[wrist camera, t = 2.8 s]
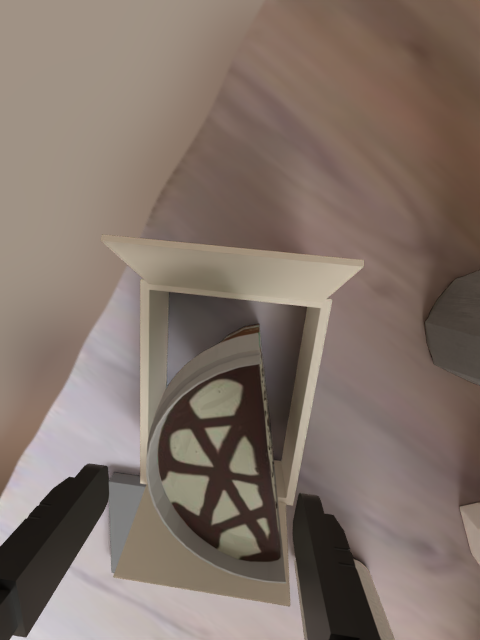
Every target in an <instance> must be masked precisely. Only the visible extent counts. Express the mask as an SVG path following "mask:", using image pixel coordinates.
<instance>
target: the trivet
mask: <svg viewBox="0 0 480 640" xmlns="http://www.w3.org/2000/svg"><path fill="white" fill-rule="evenodd" d="M146 485H147V484H141V483H140V476H136V475H129V474H122V473H115V472H114V474H113V475H112V477H111V478H110V480H109V518H110V544H111V570H112V573H115V570H116V568H117V565H118V562H119V559H120V556H121V554H122V551H123V548H124V545H125V543H126V540H127V537H128V534H129V532H130V529H131V526H132V523H133V521H134V518H135V515H136V512H137V509H138V507H139V504H140V501H141V498H142V496H143V493H144V490H145V487H146Z"/></svg>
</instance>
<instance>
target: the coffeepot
mask: <svg viewBox="0 0 480 640" xmlns="http://www.w3.org/2000/svg"><path fill="white" fill-rule="evenodd" d="M425 328H426V341H427V345H428V348H429V351H430V353H431V354H432V358H433V363H434V365H436V366H438V367H441V368H443V369H445V370H447V371H449V372H451V373H453V374H455V375H457V376H459V377H461V378H463V379H465V380H467V381H470V382H472V383H474V384H477V385H480V270H478V271H475V272H473V273H471V274H468V275H466V276H463V277H460V278H457V279H455V280H454V281H453V282H452V283H451V284H450V285H449V287H448V288H447V289H446V290H445V291H444V292H443V294H442V295H441V296H440V297H439V298H438V300H437V301H436V303H435V304H434V306H433V308H432V310H431V312H430V315H429V318H428V319H427V320H426V322H425Z"/></svg>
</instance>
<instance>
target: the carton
mask: <svg viewBox="0 0 480 640" xmlns="http://www.w3.org/2000/svg"><path fill="white" fill-rule="evenodd" d="M101 241H102V242H103V243H104V244H105V245H106V246H107V247H108V248H109V249H110V250H112V251H113V252H114V253H115V254H116V255H117V256H118V257H120V258H121V259H122V260H123V261H124V262H125V263H126V264H127V265H128V266H129V267H131V268H132V269H133V270H134V271H135V272H136V273H137V274H138V275H140V276H141V277H142V278H143V279H140V483H141V484H147V485H146V487H145V490H144V493H143V496H142V498H141V501H140V504H139V507H138V509H137V512H136V515H135V518H134V521H133V523H132V526H131V529H130V532H129V534H128V537H127V540H126V543H125V545H124V548H123V551H122V554H121V556H120V559H119V562H118V565H117V568H116V570H115V573H114V576H113V577H114V578H120V579H126V580H132V581H138V582H144V583H150V584H156V585H163V586H169V587H175V588H181V589H187V590H193V591H199V592H205V593H211V594H217V595H223V596H229V597H235V598H241V599H247V600H253V601H260V602H266V603H272V604H278V605H284V606H290V587H289V565H288V543H287V521H286V505H292V506H293V502H294V497H295V492H296V487H297V482H298V476H299V471H300V466H301V461H302V456H303V450H304V445H305V440H306V435H307V429H308V424H309V419H310V414H311V409H312V403H313V398H314V393H315V388H316V383H317V377H318V372H319V367H320V362H321V357H322V351H323V346H324V341H325V336H326V330H327V325H328V320H329V315H330V310H331V304H332V299H330V298H328V297H329V296H330V295H332V294H333V293H334V292H335V291H336V290H337V289H339V288H340V287H341V286H342V285H343V284H344V283H346V282H347V281H348V280H349V279H350V278H351V277H353V276H354V275H355V274H356V273H357V272H358V271H360V270H361V269H362V268H363V267H364V260H358V259H348V258H338V257H327V256H317V255H307V254H297V253H287V252H277V251H266V250H256V249H246V248H236V247H226V246H215V245H205V244H195V243H185V242H175V241H165V240H154V239H144V238H134V237H124V236H114V235H102V238H101ZM169 292H177V293H186V294H195V295H204V296H214V297H223V298H232V299H241V300H251V301H260V302H269V303H278V304H288V305H297V306H306V307H307V311H306V317H305V323H304V329H303V335H302V341H301V347H300V353H299V359H298V365H297V371H296V377H295V382H294V388H293V394H292V400H291V406H290V412H289V418H288V424H287V430H286V436H285V442H284V448H283V454H282V460H281V461H277V460H274V466H275V476H276V486H277V497H278V507H279V517H280V527H281V538H282V547H283V557H284V568H285V579H286V583H269V582H263V581H256V580H250V579H247V578H243V577H240V576H236V575H233V574H230V573H228V572H225V571H223V570H221V569H218V568H216V567H214V566H212V565H210V564H209V563H207V562H205V561H203V560H202V559H200V558H198V557H197V556H196V555H194V554H193V553H192V552H190V551H189V550H188V549H186V548H185V547H184V546H183V545H182V544H181V543H180V542H179V541H178V540H177V539H176V538H175V537H174V536H173V535H172V534H171V532H170V531H169V530H168V529H167V527H166V526H165V525H164V523H163V522H162V520H161V518H160V517H159V515H158V513H157V511H156V509H155V507H154V505H153V502H152V499H151V496H150V493H149V489H148V483H147V477H146V460H147V443H148V438H149V434H150V429H151V426H152V423H153V420H154V417H155V414H156V411H157V408H158V406H159V403H160V401H161V398H162V396H163V393H164V392H165V390H166V384H167V349H168V315H169Z"/></svg>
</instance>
